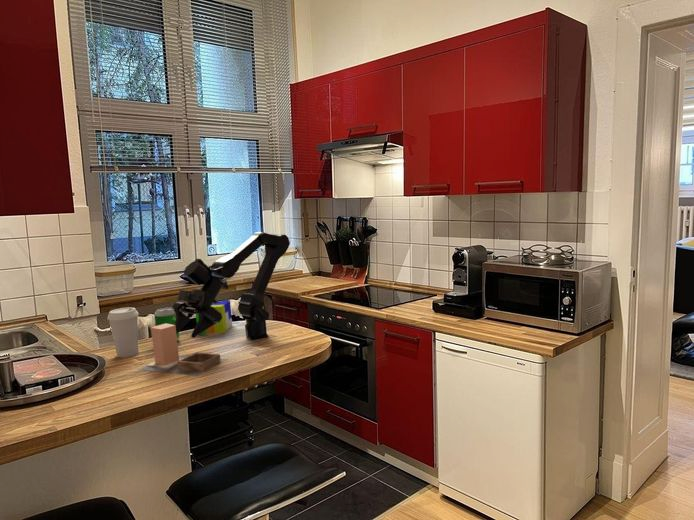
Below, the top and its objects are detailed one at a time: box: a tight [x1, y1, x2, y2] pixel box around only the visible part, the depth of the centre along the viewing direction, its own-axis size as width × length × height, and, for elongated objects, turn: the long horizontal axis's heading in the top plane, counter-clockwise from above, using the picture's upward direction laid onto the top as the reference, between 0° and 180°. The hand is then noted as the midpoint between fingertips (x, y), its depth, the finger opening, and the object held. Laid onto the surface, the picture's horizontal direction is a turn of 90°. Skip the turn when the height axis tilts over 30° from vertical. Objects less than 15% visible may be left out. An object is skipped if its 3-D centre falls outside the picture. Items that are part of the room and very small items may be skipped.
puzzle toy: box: [195, 300, 233, 335], centre depth 194 cm, size 10×10×10 cm
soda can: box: [154, 306, 180, 341], centre depth 180 cm, size 8×8×12 cm
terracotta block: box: [150, 323, 180, 366], centre depth 154 cm, size 5×5×11 cm
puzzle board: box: [137, 351, 228, 377], centre depth 152 cm, size 22×14×4 cm, turn 68°
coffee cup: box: [107, 307, 140, 359], centre depth 168 cm, size 10×10×15 cm
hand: (183, 335), depth 159 cm, fingers open, 9 cm apart
